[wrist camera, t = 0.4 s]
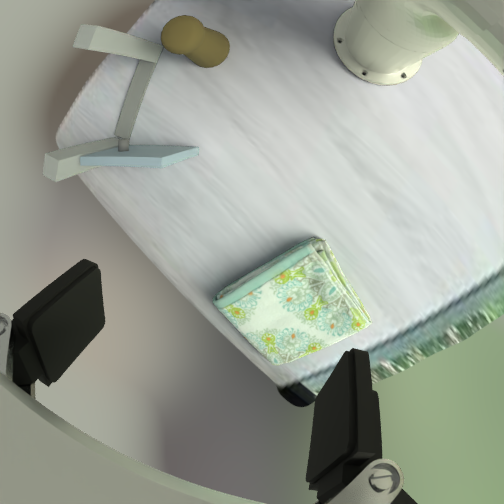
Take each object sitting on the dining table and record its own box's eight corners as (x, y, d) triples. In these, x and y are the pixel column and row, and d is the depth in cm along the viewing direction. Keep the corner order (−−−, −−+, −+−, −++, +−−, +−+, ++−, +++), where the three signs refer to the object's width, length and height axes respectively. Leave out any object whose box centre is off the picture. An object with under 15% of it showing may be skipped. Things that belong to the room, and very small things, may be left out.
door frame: (149, 42, 36) (81, 24, 22) (163, 46, 36) (97, 25, 22) (110, 153, 45) (42, 174, 31) (123, 159, 45) (55, 182, 31)
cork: (183, 59, 36) (144, 46, 27) (202, 26, 33) (168, 4, 24) (217, 73, 37) (185, 61, 27) (237, 39, 34) (211, 16, 24)
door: (126, 152, 44) (80, 165, 34) (126, 135, 42) (79, 145, 32) (198, 155, 42) (161, 168, 32) (199, 136, 40) (161, 143, 30)
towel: (373, 312, 48) (377, 331, 43) (274, 356, 56) (269, 375, 52) (320, 227, 44) (320, 240, 39) (215, 288, 52) (206, 304, 48)
